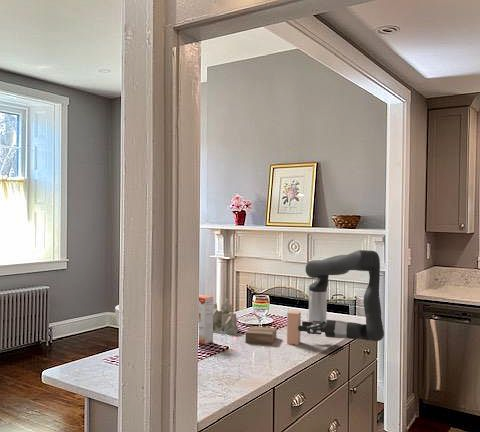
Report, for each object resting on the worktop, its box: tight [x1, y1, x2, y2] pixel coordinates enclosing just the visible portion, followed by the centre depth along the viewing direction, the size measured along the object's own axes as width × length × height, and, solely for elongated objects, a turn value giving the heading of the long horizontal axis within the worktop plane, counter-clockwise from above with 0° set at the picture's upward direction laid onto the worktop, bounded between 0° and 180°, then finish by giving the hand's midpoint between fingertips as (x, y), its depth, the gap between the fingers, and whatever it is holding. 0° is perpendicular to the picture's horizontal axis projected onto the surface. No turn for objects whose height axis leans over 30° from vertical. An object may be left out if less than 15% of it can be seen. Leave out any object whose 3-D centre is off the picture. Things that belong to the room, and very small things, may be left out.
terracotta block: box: [286, 310, 302, 346], centre depth 223 cm, size 5×5×14 cm
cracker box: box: [198, 294, 214, 345], centre depth 224 cm, size 14×6×21 cm, turn 51°
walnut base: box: [244, 325, 278, 346], centre depth 226 cm, size 12×12×5 cm
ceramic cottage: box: [213, 298, 239, 335], centre depth 244 cm, size 16×16×15 cm
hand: (300, 325), depth 222 cm, fingers open, 8 cm apart
